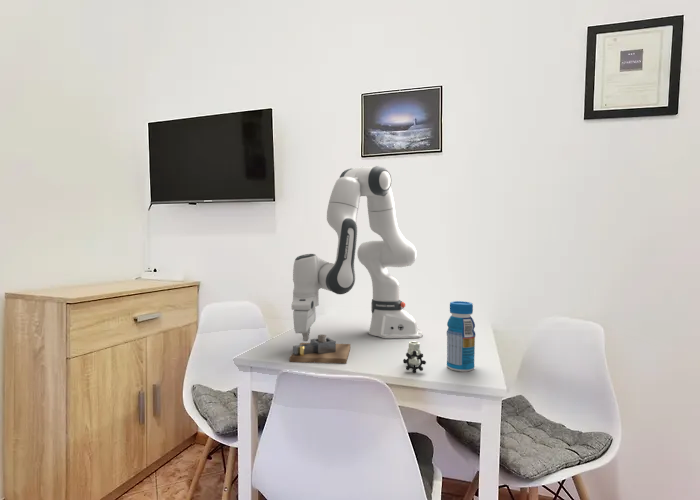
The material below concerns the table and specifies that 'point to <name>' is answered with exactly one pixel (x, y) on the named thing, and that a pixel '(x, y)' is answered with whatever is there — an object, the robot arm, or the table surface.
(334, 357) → the base
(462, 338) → the beverage bottle
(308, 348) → the square loop paddle
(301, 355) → the dowel
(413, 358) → the valve
